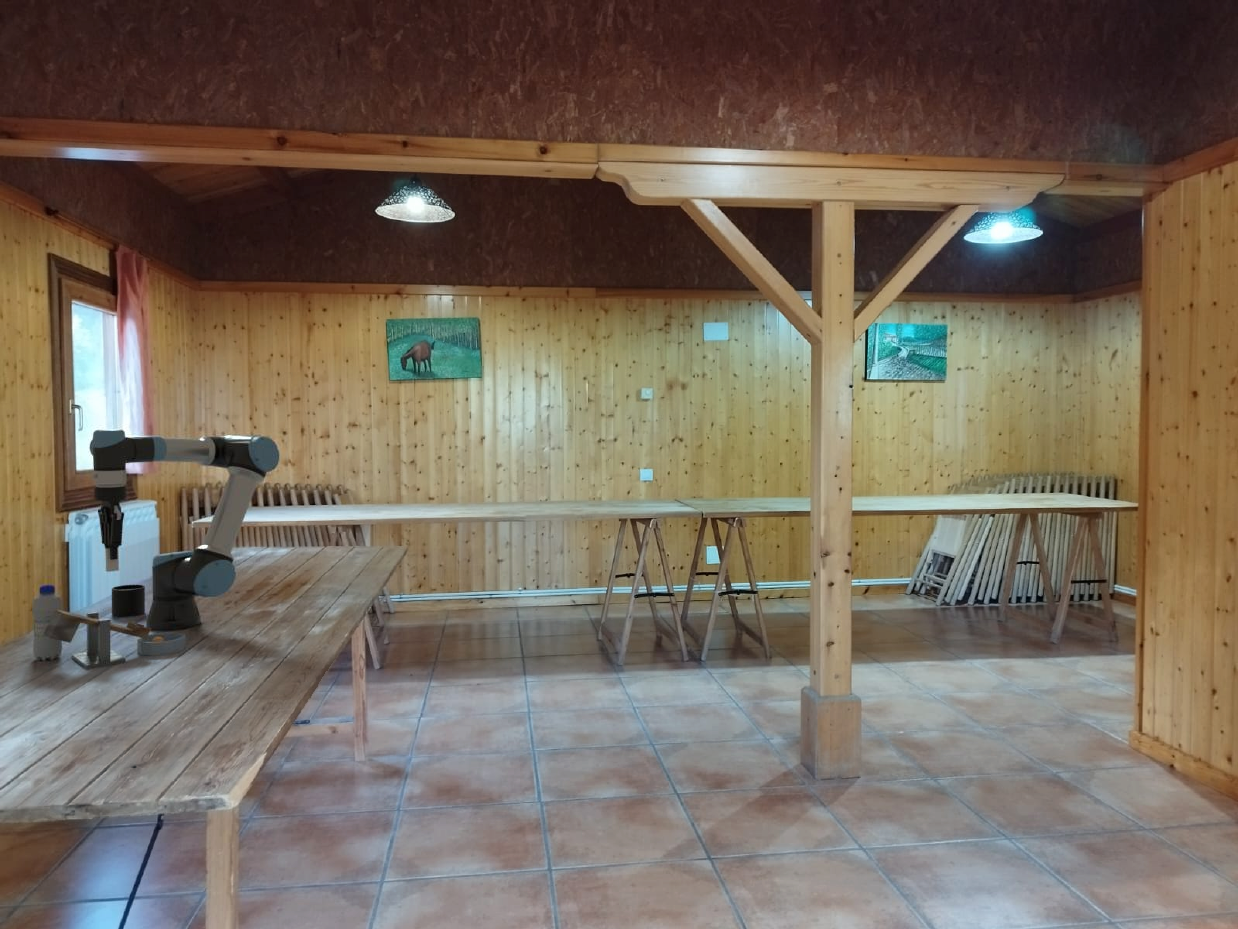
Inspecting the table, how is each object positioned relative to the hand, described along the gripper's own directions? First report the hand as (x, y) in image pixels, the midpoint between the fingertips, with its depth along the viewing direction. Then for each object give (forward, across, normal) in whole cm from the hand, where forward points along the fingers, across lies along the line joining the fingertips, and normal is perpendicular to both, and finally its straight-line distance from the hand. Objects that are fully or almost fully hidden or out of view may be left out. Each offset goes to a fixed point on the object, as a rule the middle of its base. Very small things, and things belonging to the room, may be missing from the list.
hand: (112, 570), depth 223 cm
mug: (+24, -48, +20) cm, 57 cm away
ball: (+21, +6, +9) cm, 24 cm away
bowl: (+23, +6, +10) cm, 26 cm away
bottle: (+23, -6, -14) cm, 28 cm away
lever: (+19, +5, -7) cm, 21 cm away
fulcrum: (+23, +5, -6) cm, 24 cm away
